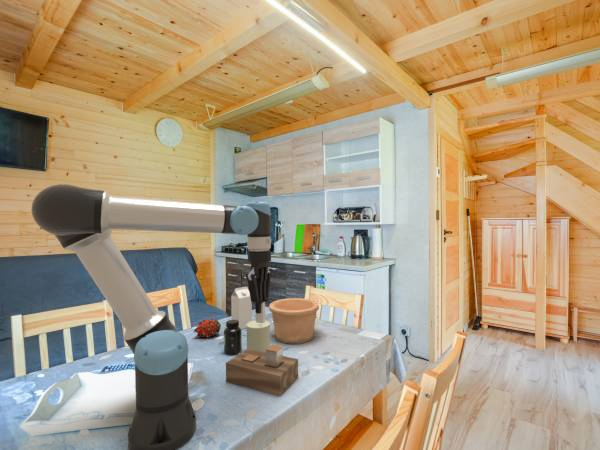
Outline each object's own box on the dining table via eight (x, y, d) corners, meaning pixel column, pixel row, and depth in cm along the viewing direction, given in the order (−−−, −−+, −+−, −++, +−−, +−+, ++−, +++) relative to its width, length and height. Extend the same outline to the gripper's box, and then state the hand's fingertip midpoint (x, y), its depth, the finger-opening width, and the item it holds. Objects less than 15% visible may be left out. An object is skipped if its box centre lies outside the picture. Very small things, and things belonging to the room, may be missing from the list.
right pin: (276, 369, 96) (276, 351, 96) (265, 366, 98) (265, 349, 98) (282, 363, 100) (282, 346, 100) (272, 361, 102) (272, 344, 102)
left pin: (252, 378, 100) (252, 361, 100) (242, 375, 102) (242, 359, 102) (259, 372, 104) (259, 356, 104) (249, 370, 106) (249, 354, 106)
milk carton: (231, 326, 151) (231, 287, 151) (244, 323, 156) (243, 285, 155) (239, 330, 146) (238, 289, 145) (252, 326, 151) (251, 287, 150)
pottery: (307, 325, 152) (307, 296, 151) (327, 342, 131) (327, 308, 131) (264, 331, 144) (263, 300, 144) (277, 350, 123) (277, 314, 123)
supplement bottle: (221, 355, 119) (221, 324, 119) (226, 348, 126) (226, 318, 126) (239, 355, 119) (239, 324, 118) (243, 348, 126) (243, 318, 125)
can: (252, 360, 114) (251, 328, 114) (242, 351, 122) (242, 321, 122) (274, 354, 119) (274, 323, 119) (264, 346, 127) (263, 317, 127)
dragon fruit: (223, 338, 141) (196, 346, 135) (218, 322, 146) (192, 330, 141) (223, 326, 135) (195, 335, 130) (218, 311, 141) (191, 319, 136)
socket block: (280, 396, 91) (280, 376, 91) (225, 381, 100) (225, 362, 100) (298, 377, 102) (298, 359, 102) (247, 365, 111) (247, 348, 111)
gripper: (258, 252, 93) (260, 330, 94) (279, 248, 105) (280, 317, 106) (237, 251, 96) (239, 327, 97) (259, 247, 108) (260, 315, 109)
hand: (260, 322), depth 101 cm, fingers closed
